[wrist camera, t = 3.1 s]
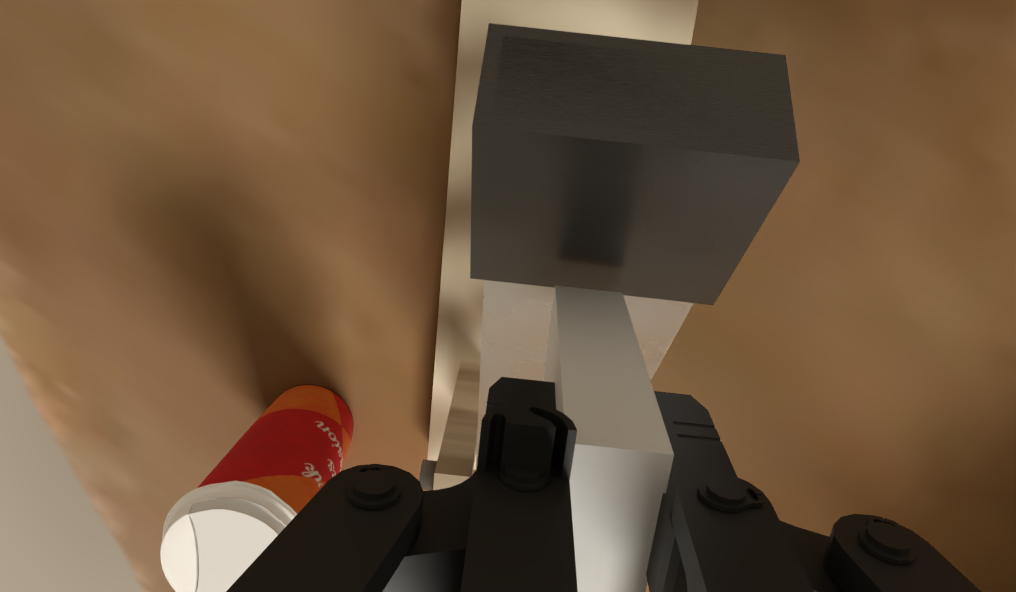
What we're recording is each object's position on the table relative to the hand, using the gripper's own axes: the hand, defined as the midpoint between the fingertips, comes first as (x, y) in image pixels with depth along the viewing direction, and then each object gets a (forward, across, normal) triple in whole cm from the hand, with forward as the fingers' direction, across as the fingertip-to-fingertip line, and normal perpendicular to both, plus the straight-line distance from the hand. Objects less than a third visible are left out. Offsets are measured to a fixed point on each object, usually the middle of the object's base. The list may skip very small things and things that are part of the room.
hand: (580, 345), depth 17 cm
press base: (+27, 0, +4) cm, 27 cm away
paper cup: (+27, +14, +19) cm, 36 cm away
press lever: (+8, 0, +4) cm, 9 cm away
